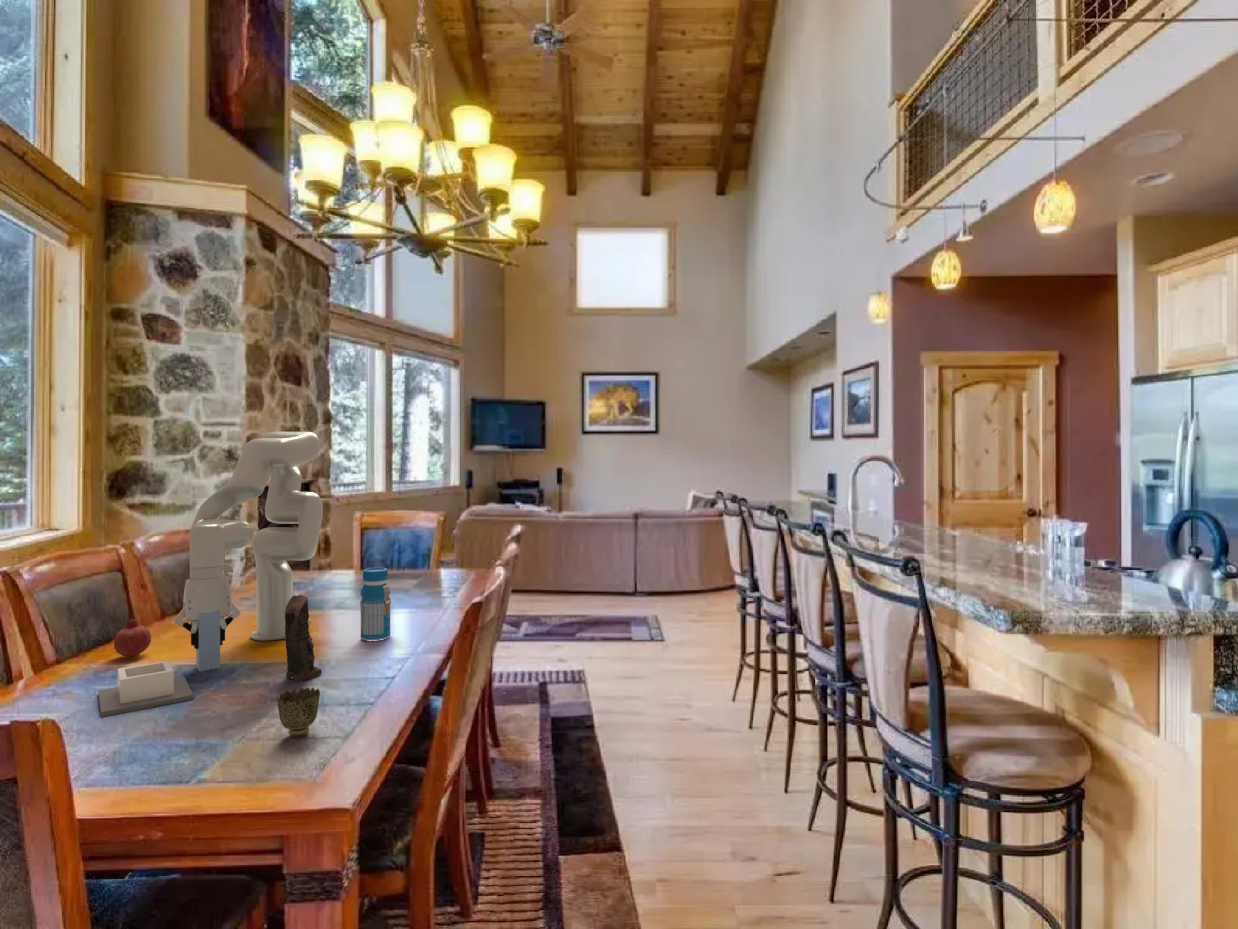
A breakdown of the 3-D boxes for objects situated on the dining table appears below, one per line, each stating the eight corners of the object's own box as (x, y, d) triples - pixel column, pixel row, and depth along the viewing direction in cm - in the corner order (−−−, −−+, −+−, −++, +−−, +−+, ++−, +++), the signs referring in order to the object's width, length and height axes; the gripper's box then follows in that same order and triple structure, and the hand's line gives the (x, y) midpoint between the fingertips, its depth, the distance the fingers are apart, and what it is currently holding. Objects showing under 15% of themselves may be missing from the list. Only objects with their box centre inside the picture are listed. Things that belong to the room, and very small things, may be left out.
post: (217, 663, 173) (216, 604, 173) (220, 668, 170) (219, 608, 170) (196, 667, 170) (196, 607, 170) (199, 671, 167) (198, 610, 167)
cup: (286, 727, 134) (286, 687, 134) (325, 726, 134) (325, 686, 134) (270, 743, 126) (270, 701, 126) (311, 742, 127) (311, 700, 127)
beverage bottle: (366, 644, 191) (366, 573, 191) (355, 637, 198) (355, 569, 197) (395, 638, 197) (395, 569, 197) (384, 632, 203) (383, 565, 203)
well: (183, 679, 161) (183, 654, 161) (193, 699, 148) (193, 671, 148) (98, 694, 151) (98, 667, 151) (101, 717, 138) (101, 687, 138)
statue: (323, 674, 165) (322, 592, 165) (300, 683, 159) (300, 598, 158) (300, 671, 168) (300, 590, 167) (277, 680, 161) (277, 596, 160)
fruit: (131, 662, 174) (131, 623, 173) (105, 660, 175) (105, 621, 175) (159, 653, 182) (158, 616, 181) (133, 651, 183) (133, 614, 183)
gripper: (242, 567, 178) (243, 637, 178) (165, 574, 167) (166, 648, 168) (248, 571, 172) (249, 643, 172) (169, 579, 161) (169, 656, 162)
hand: (208, 645), depth 170 cm, fingers closed on post, 4 cm apart
